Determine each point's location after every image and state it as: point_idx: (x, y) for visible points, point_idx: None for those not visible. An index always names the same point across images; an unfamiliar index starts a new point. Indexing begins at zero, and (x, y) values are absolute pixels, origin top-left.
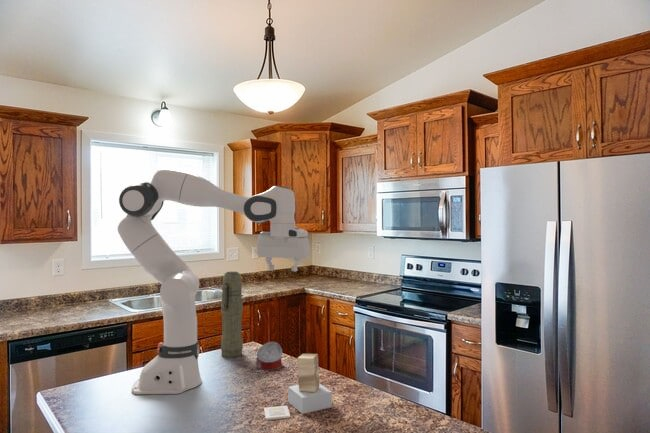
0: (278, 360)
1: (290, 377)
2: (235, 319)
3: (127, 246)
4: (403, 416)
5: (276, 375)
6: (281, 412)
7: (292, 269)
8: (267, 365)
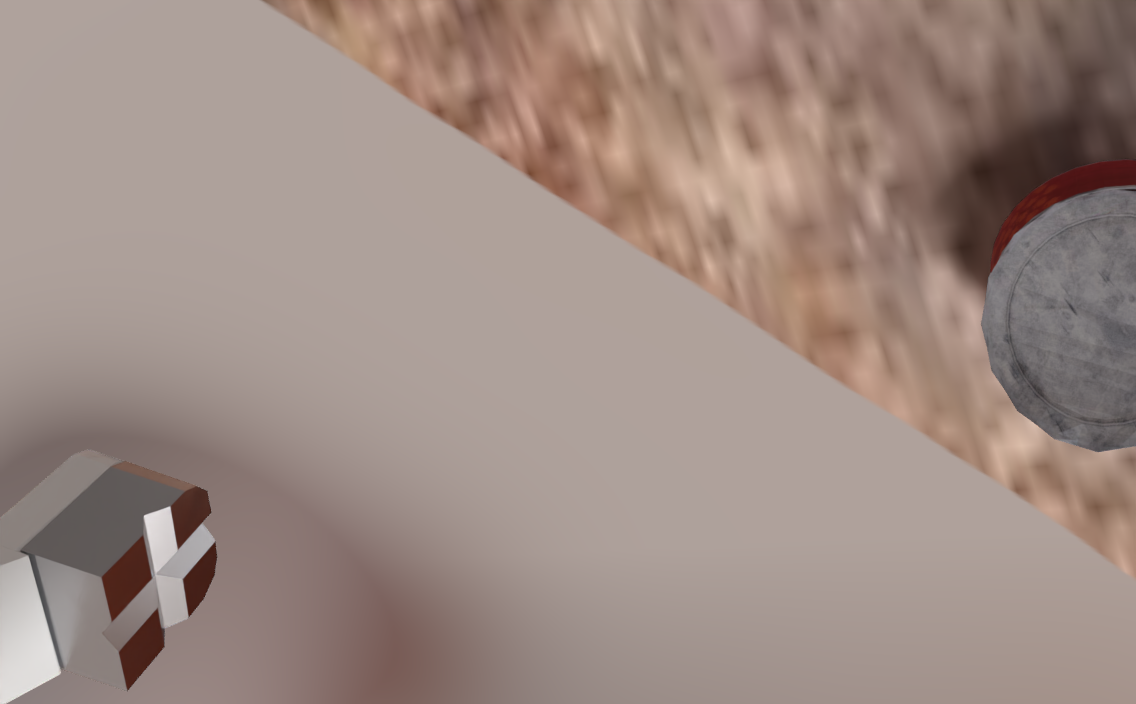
0: (1002, 251)
1: (826, 24)
2: None
3: None
4: None
5: (967, 39)
6: None
7: (125, 494)
8: (1099, 176)
